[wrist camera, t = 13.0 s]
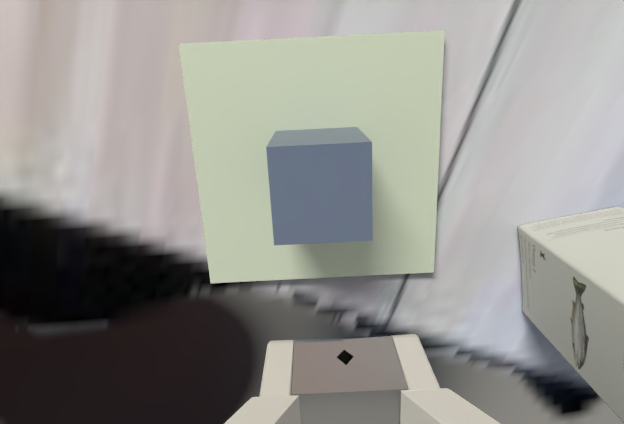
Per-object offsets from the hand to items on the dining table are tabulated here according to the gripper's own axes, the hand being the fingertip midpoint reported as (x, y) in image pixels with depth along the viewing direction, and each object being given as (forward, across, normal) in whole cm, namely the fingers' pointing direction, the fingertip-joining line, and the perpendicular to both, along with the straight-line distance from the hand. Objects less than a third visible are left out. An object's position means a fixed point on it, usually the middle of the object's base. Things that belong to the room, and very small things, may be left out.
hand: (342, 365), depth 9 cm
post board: (+21, 0, 0) cm, 21 cm away
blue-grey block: (+20, 0, 0) cm, 20 cm away
